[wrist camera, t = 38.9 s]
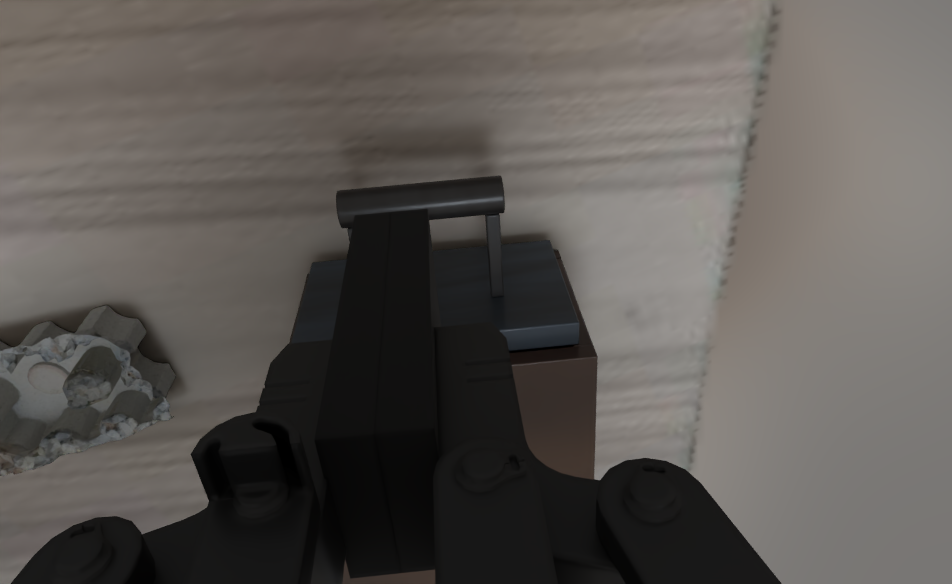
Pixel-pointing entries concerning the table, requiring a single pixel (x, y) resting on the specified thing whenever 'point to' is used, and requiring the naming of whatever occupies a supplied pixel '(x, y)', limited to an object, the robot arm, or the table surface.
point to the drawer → (459, 269)
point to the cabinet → (542, 414)
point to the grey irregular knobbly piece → (77, 389)
